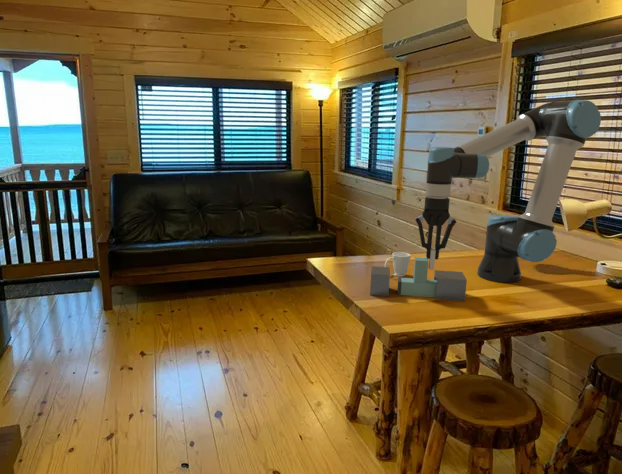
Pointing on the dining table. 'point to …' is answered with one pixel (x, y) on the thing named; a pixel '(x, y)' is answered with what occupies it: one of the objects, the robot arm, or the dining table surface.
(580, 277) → the dining table surface
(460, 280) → the gray block
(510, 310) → the dining table surface
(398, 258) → the cup
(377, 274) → the socket
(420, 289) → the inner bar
